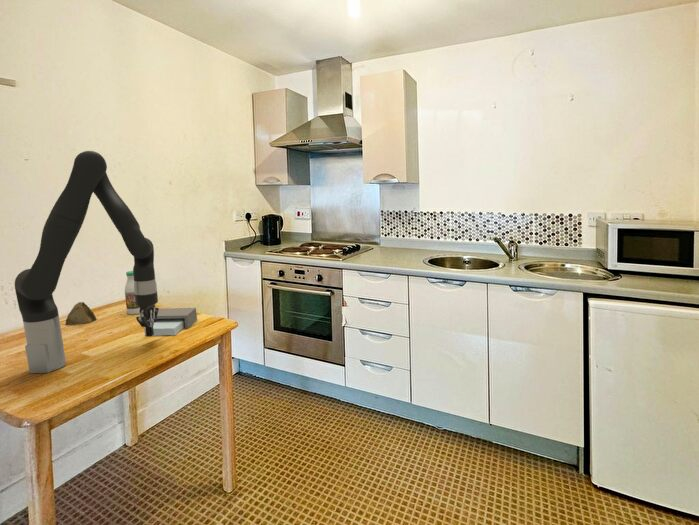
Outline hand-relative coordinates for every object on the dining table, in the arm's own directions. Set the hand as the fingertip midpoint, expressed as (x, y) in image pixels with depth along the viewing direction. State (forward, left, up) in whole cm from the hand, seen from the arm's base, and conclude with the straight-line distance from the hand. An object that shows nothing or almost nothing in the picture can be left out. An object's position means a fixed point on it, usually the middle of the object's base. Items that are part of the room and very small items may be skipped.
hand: (150, 335), depth 149 cm
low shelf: (+21, 0, -3) cm, 21 cm away
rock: (+27, +43, -4) cm, 51 cm away
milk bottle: (+40, +25, -4) cm, 47 cm away
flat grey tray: (+16, 0, -3) cm, 17 cm away
